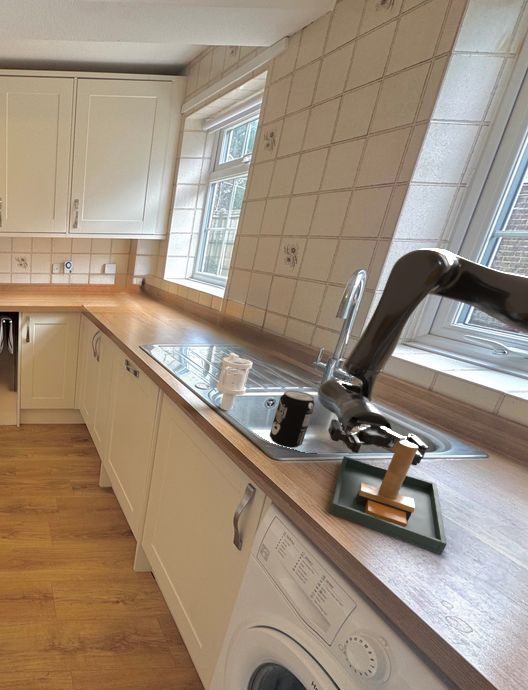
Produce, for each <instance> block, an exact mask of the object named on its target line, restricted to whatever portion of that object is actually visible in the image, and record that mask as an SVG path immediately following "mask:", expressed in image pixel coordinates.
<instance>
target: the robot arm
mask: <svg viewBox="0 0 528 690" xmlns="http://www.w3.org/2000/svg"><path fill="white" fill-rule="evenodd" d="M428 295H433V296H437V297H441V298H445V299H448V300H452V301H455V302H460V303H462V304H465V305H468V306H471V307H473V308H475V309H477V310H479V311H480V312H483V313H484V314H486V315H488V316H489V317H491V318H493V319H494V320H497V321H499V322H501V323H502V324H504V325H506V326H508V327H511V328H513V329H515V330H517V331H519V332H522V333H524V334H528V276H525V275H520V274H515V273H509V272H505V271H502V270H501V271H500V270H498V269H494V268H491V267H487V266H485V265H482V264H479V263H477V262H474V261H471V260H468V259H466V258H464V257H461V256H459V255H457V254H454V253H452V252H450V251H448V250H446V249H440V248H420V249H415V250H412V251H409V252H407V253H405V254H403V255H402V256H401V257H399V258H398V259H397V260H396V261H395V262H394V264H393V266H392V267H391V270H390V272H389V275H388V277H387V280H386V283H385V285H384V287H383V291H382V293H381V296H380V298H379V301H378V303H377V305H376V306H375V309H374V311H373V314H372V315H371V318H370V319H369V321H368V323H367V325H366V326H365V329H364V330H363V332H362V334H361V335H360V337H359V338H358V340H357V342H356V343H355V344H354V346H353V348H352V350H351V351H350V353H349V355H348V356H347V357H346V359H345V361H344V363H343V365H342V369H343V371H344V372H345V373H346V374H348V375H349V376H351V377H353V378H355V379H357V380H358V381H359V383H358V384H354V383H351V382H348V381H344V380H341V379H336V378H331V379H327V380H325V381H324V382H322V383H321V384H320V385H319V387H318V388H317V394H316V395H317V400H318V402H319V403H320V405H321V406H322V407H323V408H325V409H326V410H327V411H329V412H331V413H332V414H334V415H335V416H336V418H337V419H336V418H335V419H333V418H332V419H331V421H330V424H329V427H328V429H327V431H328V434H329V437H330V440H331V441H333V442H339V441H341V442H342V444H344V445H346V447H347V449H349V450H351V452H352V453H355V454H358V453H359V452H360V449H361V446H362V445H363V446H373V445H374V446H375V447H378V448H382V449H384V450H385V451H388V452H390V453H393V454H394V453H395V451H396V448H397V446H398V443H399V442H400V441H407V442H411V443H413V444H416V445H417V446H418V449H417V452H416V454H415V456H414V458H413V461H412V463H411V465H412V466H417V465H419V464H420V463H421V461H422V459H423V460H424V457H425V454H426V452H427V450H428V449H429V446H428V445H427V444H426V443H425V442H424V441H422V440H421V439H420V438H419V437H418V436H417V435H416V434H414V433H407V435H406V436H403V435H401V434H399V433H397V432H396V431H394V430H393V429H392V425H391V423H390V421H389V420H388V419H389V418H387V417H386V416H385V415H384V414H383V412H382V411H381V410H380V408H378V407H377V406H376V405H375V404H373V402H372V400H373V399H372V398H373V394H374V390H375V387H376V383H377V381H378V379H379V376H380V374H381V372H382V371H383V369H384V368H385V367H386V365H387V364H388V362H389V360H390V359H391V357H392V355H393V354H394V352H395V350H396V349H397V347H398V344H399V342H400V339H401V336H402V335H403V332H404V329H405V327H406V325H407V323H408V321H409V319H410V318H411V316H412V314H413V313H414V312H415V310H416V309H417V307H418V306H419V305H420V304H421V303H422V302H423V301H424V300H425V298H426V297H427V296H428ZM411 465H410V466H411Z"/></svg>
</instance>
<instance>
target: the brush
mask: <svg viewBox="0 0 528 690" xmlns="http://www.w3.org/2000/svg"><path fill="white" fill-rule="evenodd" d="M417 449H418V446H417V445H416V444H413V443H411V442H407V441H400V442H399V443H398V446H397V448H396V451H395V453H393V455H392V458H391V461H390V463H389V465H388V467H387V469H388V470H387V472H386V474H385V477H384V479H383V481H382V484H381V486H380V488H377V487H374V486H371V485H368V484H364V483H361V484H360V488H359V492H358V494H357V501H356V503H357V504H360V505H363V506H366V504H367V501H368V500H370V501H373V502H376V503H379V504H382V505H385V506H388V507H391V508H394V509H397V510H400V511H403V512H406V520H407V521H408V520H409V518H410V516H411V513H413V512H414V510H415V504H414V499H412V498H409V497H406V496H402V495H399V494H398V492H399V490H400V488H401V486H402V483H403V481H404V479H405V477H406V475H408V472H409V469H410V467H411V463H412V461H413V458H414V456H415V454H416V452H417Z"/></svg>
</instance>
